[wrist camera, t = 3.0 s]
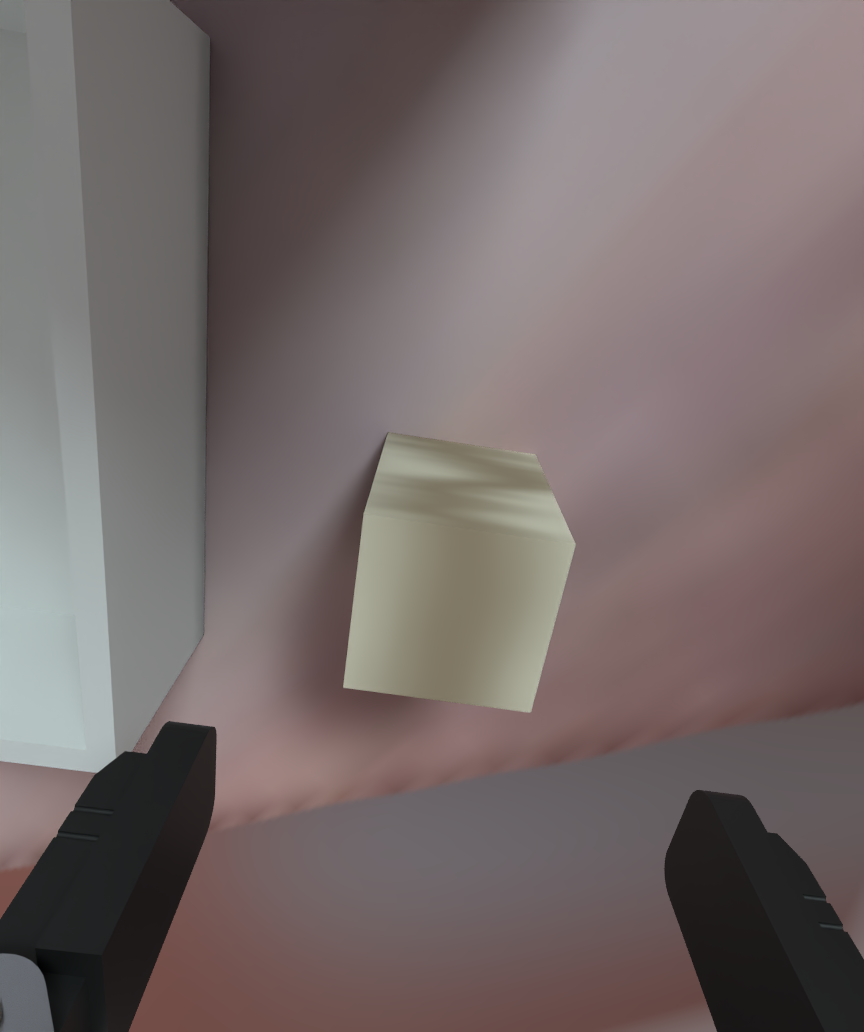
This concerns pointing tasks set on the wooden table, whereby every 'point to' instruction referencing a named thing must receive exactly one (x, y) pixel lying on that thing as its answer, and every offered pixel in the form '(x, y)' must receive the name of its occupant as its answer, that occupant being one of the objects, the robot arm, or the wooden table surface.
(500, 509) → the birch block
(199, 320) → the bin
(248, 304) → the wooden table surface
